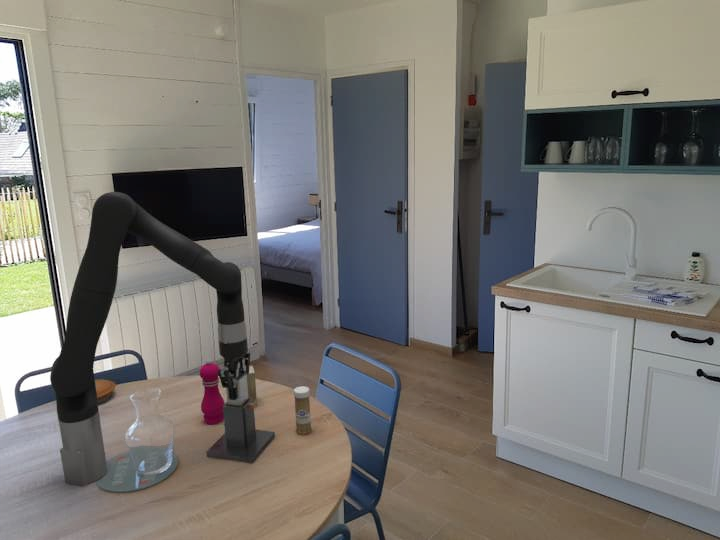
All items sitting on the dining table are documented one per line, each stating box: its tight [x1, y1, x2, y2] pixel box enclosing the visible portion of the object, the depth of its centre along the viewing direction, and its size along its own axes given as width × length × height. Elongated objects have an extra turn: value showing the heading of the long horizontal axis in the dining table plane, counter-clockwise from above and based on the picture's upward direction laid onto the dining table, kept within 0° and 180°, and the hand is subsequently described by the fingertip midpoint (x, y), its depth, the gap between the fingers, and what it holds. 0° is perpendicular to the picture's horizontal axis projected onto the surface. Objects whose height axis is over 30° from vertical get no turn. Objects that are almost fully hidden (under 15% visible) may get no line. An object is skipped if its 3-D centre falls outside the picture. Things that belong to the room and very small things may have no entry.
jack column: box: [225, 372, 249, 408], centre depth 151 cm, size 4×4×20 cm
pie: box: [95, 379, 117, 405], centre depth 185 cm, size 15×16×5 cm
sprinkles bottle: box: [293, 386, 312, 435], centre depth 159 cm, size 5×5×14 cm
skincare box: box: [245, 365, 258, 408], centre depth 177 cm, size 6×4×12 cm
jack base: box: [205, 398, 276, 464], centre depth 152 cm, size 14×14×14 cm
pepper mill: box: [199, 358, 226, 425], centre depth 167 cm, size 7×7×20 cm
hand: (237, 395), depth 150 cm, fingers closed on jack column, 4 cm apart
